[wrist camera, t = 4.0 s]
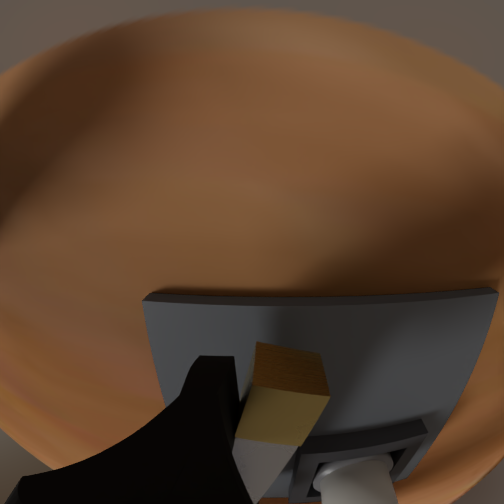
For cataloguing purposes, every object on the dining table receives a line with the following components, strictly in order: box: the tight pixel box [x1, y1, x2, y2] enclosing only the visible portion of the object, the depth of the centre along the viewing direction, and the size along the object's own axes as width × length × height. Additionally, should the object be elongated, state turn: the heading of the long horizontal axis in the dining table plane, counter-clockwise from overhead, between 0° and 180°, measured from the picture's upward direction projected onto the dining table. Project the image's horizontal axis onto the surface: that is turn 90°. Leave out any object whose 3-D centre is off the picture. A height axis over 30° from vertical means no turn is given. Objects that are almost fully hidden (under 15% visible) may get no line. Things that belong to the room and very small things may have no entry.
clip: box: [232, 341, 331, 504], centre depth 9 cm, size 12×3×2 cm, turn 167°
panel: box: [142, 287, 499, 503], centre depth 11 cm, size 16×16×2 cm
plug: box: [313, 452, 398, 504], centre depth 9 cm, size 5×5×5 cm
